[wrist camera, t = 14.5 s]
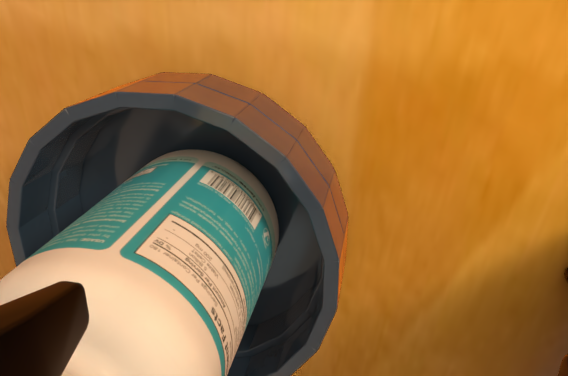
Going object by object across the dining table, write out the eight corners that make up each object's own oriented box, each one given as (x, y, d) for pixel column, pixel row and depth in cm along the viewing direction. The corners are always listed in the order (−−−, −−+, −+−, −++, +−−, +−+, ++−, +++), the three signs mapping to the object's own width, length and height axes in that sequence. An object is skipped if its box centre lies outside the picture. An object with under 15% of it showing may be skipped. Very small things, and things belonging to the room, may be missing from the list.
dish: (414, 206, 22) (419, 259, 18) (240, 377, 28) (214, 446, 24) (151, 0, 20) (91, 6, 16) (30, 227, 26) (-36, 272, 22)
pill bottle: (133, 264, 25) (-107, 527, 13) (136, 128, 22) (-172, 310, 10) (272, 299, 24) (153, 617, 12) (296, 163, 21) (168, 409, 9)
